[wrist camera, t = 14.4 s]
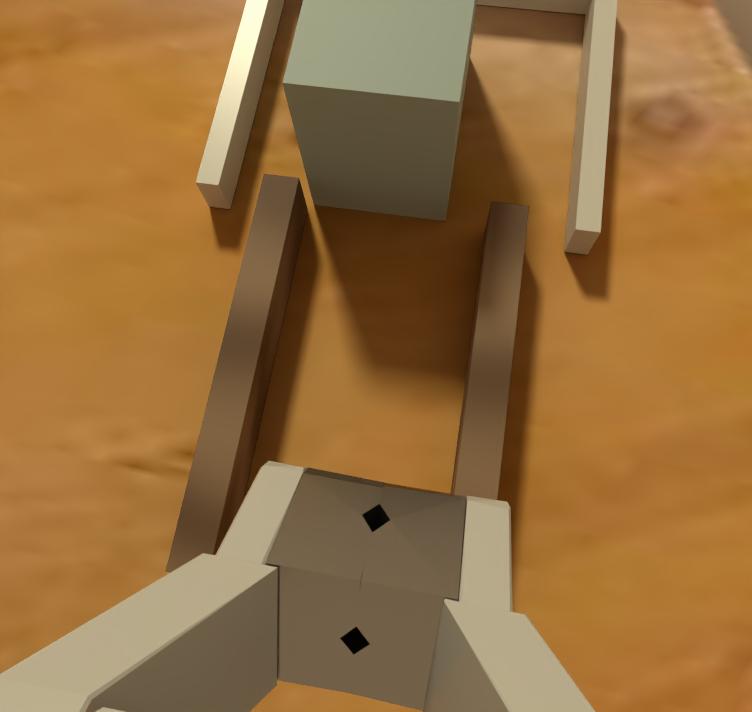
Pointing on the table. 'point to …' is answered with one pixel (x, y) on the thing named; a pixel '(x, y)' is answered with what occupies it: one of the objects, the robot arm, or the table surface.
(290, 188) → the chute
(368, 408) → the table surface
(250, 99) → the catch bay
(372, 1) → the block
